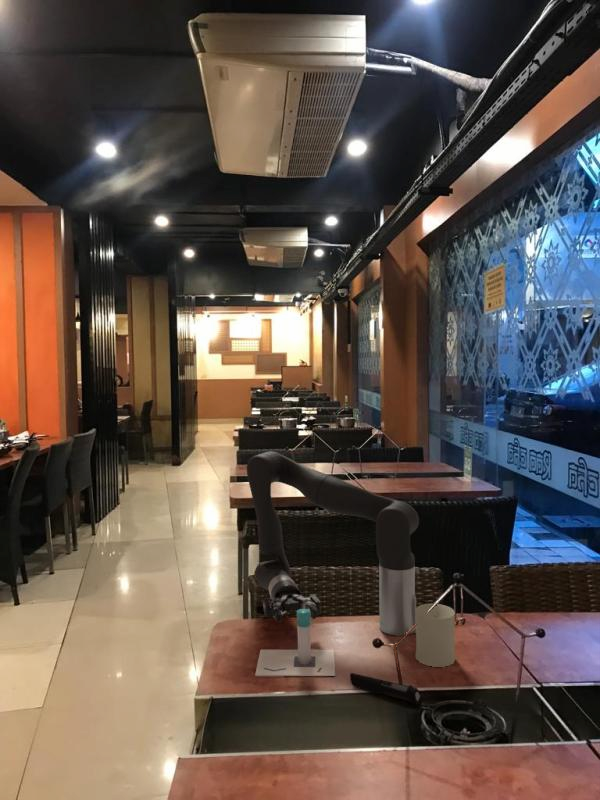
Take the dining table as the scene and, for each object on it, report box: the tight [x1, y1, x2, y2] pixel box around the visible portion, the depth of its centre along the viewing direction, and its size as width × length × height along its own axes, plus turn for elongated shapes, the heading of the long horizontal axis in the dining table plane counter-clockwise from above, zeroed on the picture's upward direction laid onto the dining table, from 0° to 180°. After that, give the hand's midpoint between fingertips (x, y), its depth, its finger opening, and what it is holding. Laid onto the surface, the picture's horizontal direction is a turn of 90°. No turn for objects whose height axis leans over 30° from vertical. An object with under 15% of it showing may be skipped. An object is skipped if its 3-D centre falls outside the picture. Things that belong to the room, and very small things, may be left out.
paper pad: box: [254, 649, 336, 677], centre depth 142 cm, size 18×12×1 cm, turn 88°
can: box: [414, 603, 456, 668], centre depth 143 cm, size 9×9×12 cm
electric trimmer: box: [349, 672, 422, 706], centre depth 129 cm, size 4×16×3 cm, turn 62°
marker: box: [296, 609, 312, 665], centre depth 141 cm, size 3×3×12 cm
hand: (297, 617), depth 148 cm, fingers open, 8 cm apart
